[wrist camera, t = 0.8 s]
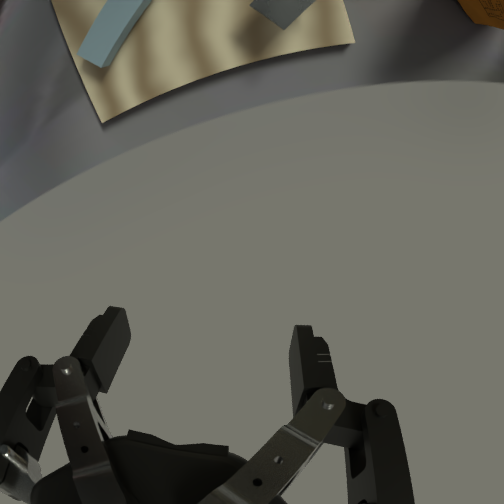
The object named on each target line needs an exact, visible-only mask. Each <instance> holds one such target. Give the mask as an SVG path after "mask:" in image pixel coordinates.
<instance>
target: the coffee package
mask: <svg viewBox="0 0 504 504" xmlns="http://www.w3.org/2000/svg"><path fill="white" fill-rule="evenodd" d="M458 2H459V3H460V4H461V6H462V8H463V10H464V11H465V12H466V14H467V15H468V16H469V17H470V18H471V20H472V21H473V22H474V23H475V24H483V25H489V26H493V27H497V28H500V29H504V0H458Z"/></svg>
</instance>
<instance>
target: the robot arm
mask: <svg viewBox="0 0 504 504" xmlns="http://www.w3.org/2000/svg"><path fill="white" fill-rule="evenodd" d="M130 339H131V332H130V327H129V323H128V319H127V315H126V311H125V309H124V308H119V307H113V306H109V307H108V308H107V310H106V311H105V313H104V314H103V315H99V316H97V317H96V318H95V319H93V320H92V321H91V322H90V324H89V326H88V327H87V329H86V330H85V332H84V333H83V335H82V336H81V338H80V340H79V341H78V343H77V344H76V346H75V348H74V349H73V351H72V353H71V354H70V356H65V357H62V358H60V359H58V360H57V361H56V362H55V364H54V365H40V364H39V362H38V360H37V359H36V358H35V357H33V356H26V357H23V358H21V359H20V360H19V361H18V362H17V364H16V365H15V367H14V369H13V370H12V372H11V374H10V376H9V377H8V379H7V380H6V382H5V384H4V386H3V388H2V390H1V391H0V491H1V492H2V493H4V494H6V495H8V496H10V497H12V498H13V499H15V500H19V501H23V502H25V503H27V504H287V503H286V502H285V501H284V500H283V498H282V497H281V495H282V494H283V493H284V492H285V491H286V490H287V489H288V488H289V486H290V485H291V484H292V483H293V482H294V480H295V479H296V478H297V477H298V476H299V474H300V473H301V472H302V470H303V469H304V467H306V465H307V464H308V463H309V462H310V460H311V459H312V458H313V456H314V455H315V454H316V453H317V451H318V450H319V448H320V447H321V446H322V444H323V443H328V444H333V445H337V446H342V447H344V451H345V462H346V474H347V489H348V504H415V503H414V496H413V490H412V483H411V477H410V472H409V467H408V462H407V457H406V452H405V447H404V443H403V438H402V433H401V429H400V425H399V421H398V417H397V413H396V410H395V408H394V406H393V405H392V404H391V403H390V402H388V401H386V400H383V399H375V400H372V401H370V402H369V403H368V404H367V405H365V404H360V403H355V402H351V401H349V400H347V399H346V398H345V397H344V396H343V394H342V393H341V392H339V390H338V388H337V384H336V379H335V374H334V369H333V365H332V362H331V356H330V352H329V347H328V344H327V343H326V342H325V340H324V339H323V338H322V337H314V335H313V330H312V327H311V326H310V325H295V327H294V331H293V336H292V340H291V345H290V350H289V367H290V379H291V391H292V392H291V393H292V405H293V419H292V420H291V421H290V422H289V423H288V424H287V425H284V426H282V427H281V428H280V429H279V430H278V431H277V432H276V433H275V434H274V435H273V437H271V438H270V440H269V441H268V442H267V443H266V444H265V445H264V446H263V447H262V448H261V449H260V450H259V451H258V452H257V453H256V454H255V455H254V456H253V457H252V458H251V459H250V460H249V461H247V460H246V459H244V458H242V457H240V456H238V455H236V454H233V453H230V452H229V446H223V445H213V444H205V443H201V444H187V445H174V444H172V443H169V442H167V441H164V440H162V439H160V438H158V437H156V436H153V435H151V434H146V433H142V432H137V431H133V430H129V431H128V434H127V436H126V435H125V436H117V437H113V436H112V435H111V433H110V431H109V429H108V426H107V424H106V421H105V418H104V416H103V413H102V410H101V407H100V405H99V401H98V399H97V397H96V396H97V394H98V392H102V393H107V392H108V390H109V387H110V385H111V383H112V380H113V378H114V376H115V374H116V372H117V369H118V367H119V365H120V363H121V361H122V358H123V356H124V354H125V352H126V350H127V348H128V346H129V343H130ZM31 397H33V399H32V401H31V403H30V405H29V407H28V410H27V412H26V408H27V406H28V404H29V402H30V399H31ZM56 413H57V417H58V422H59V426H60V430H61V434H62V437H63V441H64V445H65V448H66V451H67V455H68V458H69V461H70V462H69V463H68V464H66V465H65V466H63V467H61V468H59V469H58V470H56V471H54V472H52V473H50V474H49V475H47V476H45V477H44V478H42V474H41V468H40V466H39V463H38V461H39V458H40V455H41V452H42V449H43V446H44V444H45V441H46V438H47V436H48V433H49V430H50V428H51V425H52V423H53V420H54V418H55V415H56Z"/></svg>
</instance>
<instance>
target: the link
mask: <svg viewBox="0 0 504 504" xmlns="http://www.w3.org/2000/svg"><path fill="white" fill-rule="evenodd" d="M151 1H152V0H107V2H106V3H105V5H104V6H103V8H102V9H101V11H100V13H99V14H98V16H97V18H96V19H95V21H94V23H93V24H92V26H91V28H90V30H89V31H88V33H87V35H86V37H85V39H84V41H83V43H82V44H81V46H80V48H79V50H78V52H77V55H78V56H80V57H82V58H84V59H86V60H88V61H90V62H91V63H93V64H95V65H97V66H99V67H100V68H102V67H106V66H110V64H111V62H112V60H113V58H114V57H115V55H116V53H117V52H118V50H119V48H120V47H121V45H122V43H123V42H124V40H125V39H126V37H127V35H128V34H129V32H130V31H131V29H132V28H133V26H134V25H135V23H136V22H137V20H138V19H139V17H140V16H141V15H142V13H143V12H144V10H145V9H146V8H147V6H148V5H149V4H150V2H151Z"/></svg>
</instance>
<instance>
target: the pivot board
mask: <svg viewBox="0 0 504 504" xmlns="http://www.w3.org/2000/svg"><path fill="white" fill-rule="evenodd" d="M51 1H52V4H53V7H54V10H55V12H56V15H57V18H58V21H59V24H60V26H61V29H62V32H63V34H64V37H65V39H66V42H67V45H68V47H69V50H70V52H71V55H72V57H73V59H74V62H75V64H76V67H77V69H78V71H79V74H80V76H81V78H82V81H83V83H84V85H85V87H86V90H87V92H88V94H89V96H90V99H91V101H92V103H93V105H94V107H95V109H96V112H97V114H98V116H99V118H100V120H101V122H102V123H104V122H105V121H107V120H109V119H111V118H113V117H115V116H117V115H119V114H121V113H122V112H124V111H126V110H128V109H130V108H133V107H135V106H137V105H139V104H141V103H143V102H145V101H147V100H149V99H152V98H154V97H156V96H158V95H161V94H163V93H165V92H168V91H170V90H173V89H175V88H178V87H180V86H183V85H185V84H188V83H190V82H193V81H196V80H198V79H201V78H204V77H207V76H210V75H213V74H216V73H219V72H222V71H225V70H228V69H231V68H234V67H238V66H241V65H244V64H248V63H252V62H255V61H259V60H263V59H267V58H271V57H275V56H279V55H284V54H288V53H293V52H298V51H303V50H309V49H314V48H320V47H327V46H333V45H341V44H349V43H355V40H354V37H353V33H352V29H351V26H350V22H349V19H348V15H347V12H346V9H345V6H344V3H343V0H316V1H315V2H314V3H313V4H311V5H310V6H309V7H308V8H307V9H306V10H305V11H304V12H303V13H302V14H301V15H300V16H298V17H297V18H296V19H295V20H294V21H293V22H292V23H291V24H290V25H289V26H288V27H287V28H286V29H285V30H282V29H281V28H280V27H278V26H277V25H276V24H274V23H273V22H272V21H270V20H269V19H267V18H266V17H264V16H263V15H262V14H260V13H259V12H257V11H256V10H254V9H253V8H251V7H250V6H249V5H250V4H251V3H252V2H253V1H254V0H152V1H151V2H150V4H149V5H148V6H147V8H146V9H145V10H144V12H143V13H142V15H141V16H140V17H139V19H138V20H137V22H136V23H135V25H134V26H133V28H132V29H131V31H130V32H129V34H128V35H127V37H126V39H125V40H124V42H123V43H122V45H121V47H120V48H119V50H118V52H117V53H116V55H115V57H114V58H113V60H112V62H111V64H110V66H106V67H102V68H100V67H99V66H97V65H95V64H93V63H91V62H90V61H88V60H86V59H84V58H82V57H80V56H78V55H77V52H78V50H79V48H80V46H81V44H82V43H83V41H84V39H85V37H86V35H87V33H88V31H89V30H90V28H91V26H92V24H93V23H94V21H95V19H96V18H97V16H98V14H99V13H100V11H101V9H102V8H103V6H104V5H105V3H106V2H107V0H51Z"/></svg>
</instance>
